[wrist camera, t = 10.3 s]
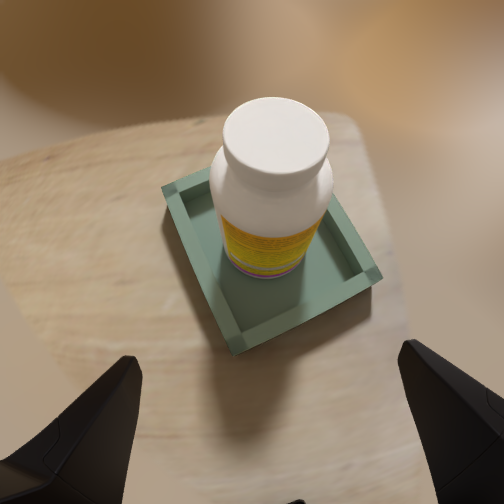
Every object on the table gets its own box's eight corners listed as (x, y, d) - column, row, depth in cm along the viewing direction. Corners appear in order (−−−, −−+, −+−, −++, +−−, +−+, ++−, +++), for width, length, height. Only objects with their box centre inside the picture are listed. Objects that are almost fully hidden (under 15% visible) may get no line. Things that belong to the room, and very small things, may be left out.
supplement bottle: (318, 267, 24) (378, 178, 11) (237, 291, 23) (220, 218, 11) (289, 195, 26) (314, 77, 14) (214, 215, 25) (187, 100, 13)
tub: (371, 285, 24) (383, 278, 21) (234, 355, 22) (232, 356, 20) (290, 152, 28) (293, 136, 26) (168, 201, 26) (160, 187, 24)
